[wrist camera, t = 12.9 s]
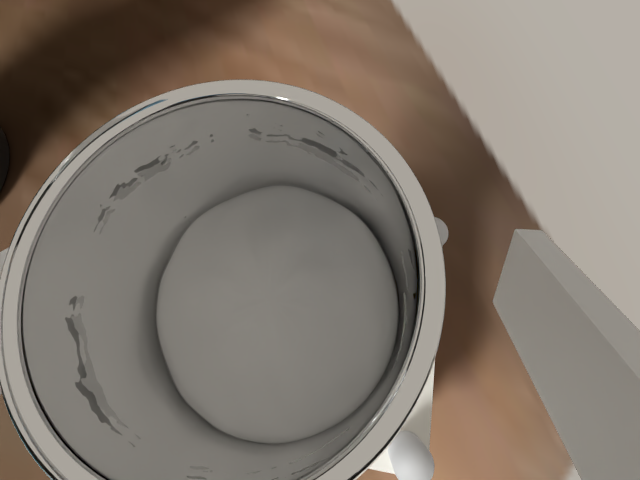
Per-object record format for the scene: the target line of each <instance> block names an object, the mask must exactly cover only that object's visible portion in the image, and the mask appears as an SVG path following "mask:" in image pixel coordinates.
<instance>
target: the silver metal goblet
mask: <svg viewBox="0 0 640 480" xmlns="http://www.w3.org/2000/svg"><path fill="white" fill-rule="evenodd" d="M445 297H446V279H445V265H444V256H443V249H442V244H441V239H440V235H439V231H438V227H437V224H436V221H435V217H434V215H433V212H432V209H431V206H430V204H429V202H428V199H427V197H426V195H425V193H424V191H423V189H422V187H421V185H420V183H419V181H418V180H417V178H416V176H415V175H414V173H413V171H412V170H411V168H410V167H409V165H408V164H407V162H406V161H405V160H404V158H403V157H402V156H401V155H400V153H399V152H398V151H397V150H396V149H395V147H394V146H393V145H392V144H391V143H390V142H389V141H388V140H387V139H386V138H385V137H384V136H383V135H382V134H381V133H380V132H379V131H378V130H377V129H376V128H374V127H373V126H372V125H371V124H369V123H368V122H367V121H366V120H364V119H363V118H362V117H360V116H359V115H357V114H356V113H354V112H353V111H351V110H350V109H348V108H346V107H345V106H343V105H341V104H339V103H337V102H335V101H333V100H331V99H329V98H327V97H325V96H322V95H320V94H317V93H315V92H312V91H309V90H306V89H303V88H300V87H296V86H292V85H288V84H283V83H277V82H271V81H263V80H246V79H238V80H220V81H211V82H205V83H199V84H194V85H190V86H186V87H182V88H178V89H175V90H172V91H169V92H166V93H163V94H160V95H158V96H155V97H153V98H150V99H148V100H146V101H143V102H141V103H139V104H137V105H135V106H133V107H131V108H130V109H128V110H126V111H124V112H122V113H121V114H119V115H117V116H116V117H114V118H113V119H111V120H110V121H108V122H107V123H105V124H104V125H102V126H101V127H100V128H98V129H97V130H96V131H94V132H93V133H92V134H91V135H89V136H88V137H87V138H86V139H84V140H83V141H82V142H81V143H80V144H79V145H78V146H77V147H76V148H74V149H73V150H72V151H71V152H70V153H69V154H68V155H67V156H66V157H65V159H64V160H63V161H62V162H61V163H60V164H59V165H58V166H57V168H56V169H55V170H54V171H53V172H52V173H51V175H50V176H49V177H48V178H47V180H46V181H45V182H44V184H43V185H42V187H41V188H40V189H39V191H38V192H37V194H36V195H35V197H34V198H33V200H32V202H31V203H30V205H29V207H28V208H27V210H26V212H25V214H24V216H23V218H22V219H21V221H20V223H19V225H18V228H17V230H16V232H15V234H14V237H13V239H12V241H11V244H10V247H9V249H8V252H7V255H6V258H5V261H4V265H3V268H2V272H1V276H0V387H1V391H2V395H3V398H4V401H5V404H6V407H7V410H8V413H9V415H10V418H11V420H12V422H13V424H14V426H15V428H16V430H17V432H18V434H19V436H20V438H21V440H22V441H23V443H24V445H25V447H26V448H27V450H28V451H29V453H30V454H31V456H32V457H33V458H34V460H35V461H36V462H37V464H38V465H39V466H40V468H41V469H42V470H43V471H44V472H45V473H46V474H47V476H48V477H49V478H50V479H51V480H356V479H358V478H359V477H360V476H361V475H362V474H363V473H364V472H365V471H366V470H367V469H368V468H369V467H370V466H371V465H372V464H373V463H374V462H375V461H376V460H377V459H378V458H379V457H380V455H381V454H382V453H383V452H384V451H385V450H386V449H387V447H388V446H389V445H390V444H391V442H392V441H393V440H394V438H395V437H396V436H397V434H398V433H399V431H400V430H401V429H402V427H403V426H404V424H405V422H406V421H407V419H408V418H409V416H410V414H411V413H412V411H413V409H414V407H415V406H416V404H417V402H418V400H419V398H420V396H421V394H422V391H423V389H424V387H425V385H426V382H427V380H428V377H429V375H430V372H431V369H432V366H433V363H434V360H435V357H436V354H437V350H438V346H439V342H440V337H441V332H442V326H443V320H444V311H445Z"/></svg>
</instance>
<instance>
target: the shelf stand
mask: <svg viewBox="0 0 640 480" xmlns="http://www.w3.org/2000/svg"><path fill="white" fill-rule="evenodd" d="M435 221H436V224H437V227H438V231H439V235H440V239H441V244H442V246H443V245H444V244H445V242H446V241H447V239H448V228H447V226H446V224H445V223H444V222H443V221H442V220H441V219H439V218H437V217H435ZM434 367H435V360H434V363H433V366H432V369H431V372H430V375H429V377H428V380H427V382H426V385H425V387H424V389H423V391H422V394H421V396H420V398H419V400H418V402H417V404H416V406H415V407H414V409H413V411H412V413H411V414H410V416H409V418H408V419H407V421H406V422H405V424H404V426H403V427H402V429H401V430H400V431H399V433H398V434H397V436H396V437H395V438H394V440H393V441H392V442H391V444H390V445H389V446H388V447H387V449H386V450H385V451H384V452H383V453H382V454H381V455H380V457H379V458H378V459H377V460H376V461H375V462H374V463H373V464H372V465H371V466H370V467H369V468H368V469H373V470H378V471H383V472H388V473H393V474H396V476H397V478H398V479H399V480H431V478H432V476H433V473H434V460H433V457H432V455H431V453H430V452H429V445H430V429H431V414H432V398H433V383H434Z"/></svg>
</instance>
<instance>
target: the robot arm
mask: <svg viewBox="0 0 640 480" xmlns="http://www.w3.org/2000/svg"><path fill="white" fill-rule="evenodd" d="M8 166H9V147H8V142H7V139H6V136H5V134H4V132H3V130H2V129H1V127H0V190H1V188H2V186H3V184H4V181H5V178H6V175H7V171H8ZM8 249H9V248H7V249H5V250H4V251H2V252H0V276H1V272H2V268H3V265H4V261H5V258H6V255H7V252H8ZM493 304H494V306H495V308H496V310H497V312H498V314H499V316H500V318H501V320H502V322H503V324H504V326H505V328H506V330H507V332H508V334H509V336H510V338H511V340H512V342H513V344H514V346H515V348H516V350H517V352H518V354H519V356H520V358H521V360H522V362H523V364H524V366H525V368H526V370H527V372H528V374H529V376H530V378H531V380H532V382H533V384H534V386H535V388H536V390H537V392H538V394H539V396H540V398H541V400H542V402H543V404H544V406H545V408H546V410H547V412H548V414H549V416H550V418H551V420H552V422H553V424H554V426H555V428H556V430H557V432H558V434H559V436H560V438H561V440H562V442H563V444H564V446H565V448H566V450H567V452H568V454H569V456H570V458H571V460H572V462H573V464H574V466H575V468H576V470H577V472H578V474H579V476H580V478H581V480H640V331H639V330H638V328H637V327H636V326H634V324H633V323H632V322H631V321H630V320H629V319H628V318H627V317H626V316H625V315H624V314H623V313H622V312H621V311H620V310H619V309H618V308H617V307H616V306H615V305H614V304H613V303H612V302H611V301H610V300H609V299H608V298H607V297H606V296H605V295H604V293H603V292H602V291H601V290H600V289H599V288H598V287H597V286H596V285H594V283H593V282H592V281H591V280H590V279H589V278H588V277H587V276H586V275H585V274H584V273H583V272H582V271H581V270H580V269H579V268H578V267H577V266H576V265H575V264H574V263H573V262H572V261H571V260H570V258H568V257H567V255H566V254H565V253H564V252H563V251H562V250H561V249H560V248H559V247H558V246H557V245H556V244H555V243H554V242H553V241H552V240H551V239H550V238H549V237H548V236H547V235H546V234H545V233H544V232H543V231H542V230H527V229H515V231H514V234H513V237H512V240H511V244H510V247H509V250H508V253H507V257H506V260H505V263H504V266H503V269H502V273H501V276H500V279H499V282H498V286H497V289H496V292H495V295H494V299H493ZM1 393H2V391H1V387H0V394H1Z"/></svg>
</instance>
